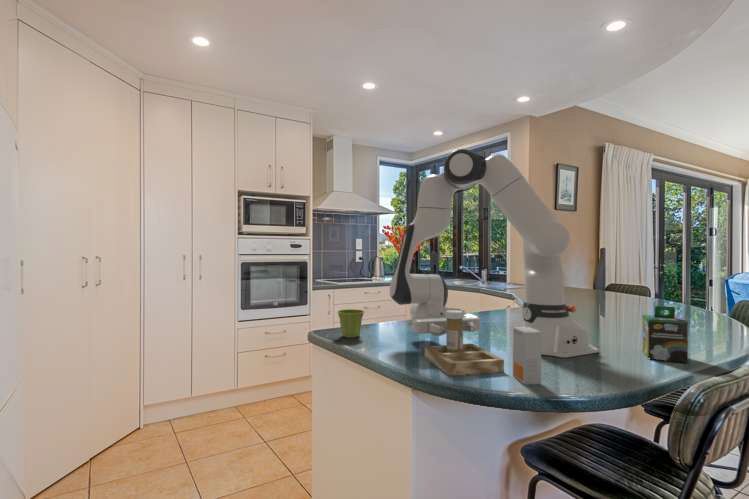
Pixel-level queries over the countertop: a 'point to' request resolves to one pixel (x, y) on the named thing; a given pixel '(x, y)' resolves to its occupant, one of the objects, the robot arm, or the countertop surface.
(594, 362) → the countertop surface
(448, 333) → the sprinkles bottle
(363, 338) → the countertop surface
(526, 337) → the skincare box
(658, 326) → the chalk box
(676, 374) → the countertop surface
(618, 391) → the countertop surface
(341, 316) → the plant pot
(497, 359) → the wooden compartment tray
